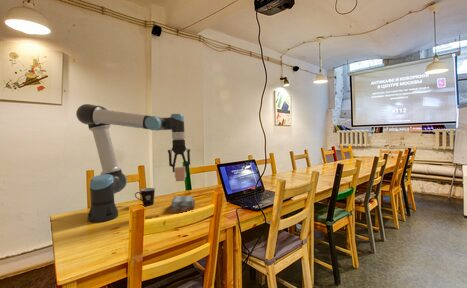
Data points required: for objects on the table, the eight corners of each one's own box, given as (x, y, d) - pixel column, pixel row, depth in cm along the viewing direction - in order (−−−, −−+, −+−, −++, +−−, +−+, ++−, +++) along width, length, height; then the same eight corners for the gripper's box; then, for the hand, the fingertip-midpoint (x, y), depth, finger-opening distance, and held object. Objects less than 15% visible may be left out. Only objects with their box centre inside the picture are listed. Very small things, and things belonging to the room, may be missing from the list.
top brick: (175, 181, 147) (175, 168, 147) (176, 179, 152) (176, 167, 152) (184, 181, 148) (183, 167, 147) (185, 179, 153) (184, 166, 152)
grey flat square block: (169, 212, 144) (169, 202, 144) (173, 205, 158) (172, 196, 158) (193, 211, 145) (193, 201, 145) (195, 204, 159) (194, 195, 159)
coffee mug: (157, 202, 165) (156, 187, 164) (151, 206, 156) (151, 191, 155) (140, 202, 166) (140, 187, 165) (134, 206, 157) (133, 190, 157)
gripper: (162, 140, 144) (164, 179, 145) (193, 138, 146) (194, 177, 147) (164, 139, 151) (166, 176, 153) (193, 138, 153) (195, 175, 154)
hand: (180, 177), depth 150 cm, fingers closed on top brick, 5 cm apart
